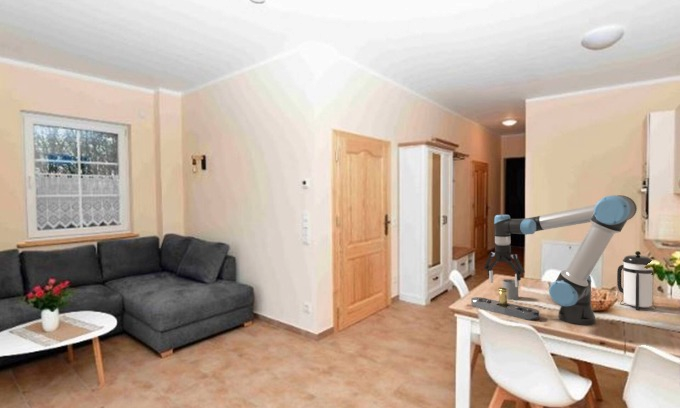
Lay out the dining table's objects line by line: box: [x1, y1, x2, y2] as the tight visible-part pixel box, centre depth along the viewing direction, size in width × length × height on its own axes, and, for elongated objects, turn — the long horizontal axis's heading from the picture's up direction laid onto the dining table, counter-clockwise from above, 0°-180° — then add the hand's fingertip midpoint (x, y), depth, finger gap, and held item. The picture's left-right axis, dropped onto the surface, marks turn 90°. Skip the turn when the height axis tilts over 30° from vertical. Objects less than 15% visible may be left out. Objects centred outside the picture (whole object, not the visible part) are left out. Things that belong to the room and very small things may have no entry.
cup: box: [502, 278, 519, 301], centre depth 215 cm, size 8×8×10 cm
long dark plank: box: [470, 296, 540, 322], centre depth 191 cm, size 35×9×4 cm, turn 41°
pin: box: [498, 287, 508, 307], centre depth 191 cm, size 5×5×12 cm
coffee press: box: [616, 250, 657, 311], centre depth 195 cm, size 17×16×30 cm
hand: (503, 284), depth 191 cm, fingers open, 13 cm apart
